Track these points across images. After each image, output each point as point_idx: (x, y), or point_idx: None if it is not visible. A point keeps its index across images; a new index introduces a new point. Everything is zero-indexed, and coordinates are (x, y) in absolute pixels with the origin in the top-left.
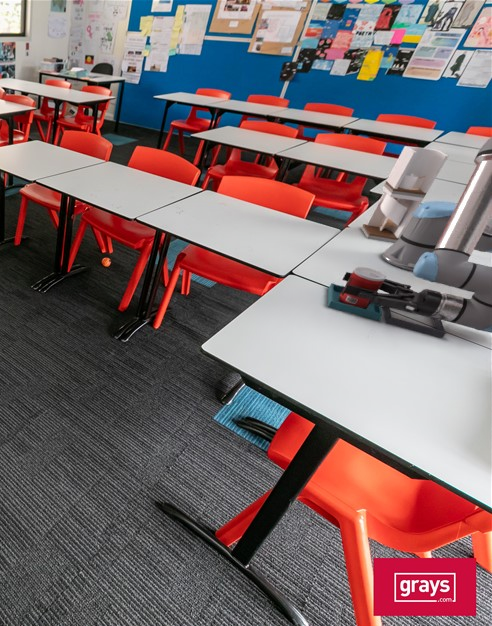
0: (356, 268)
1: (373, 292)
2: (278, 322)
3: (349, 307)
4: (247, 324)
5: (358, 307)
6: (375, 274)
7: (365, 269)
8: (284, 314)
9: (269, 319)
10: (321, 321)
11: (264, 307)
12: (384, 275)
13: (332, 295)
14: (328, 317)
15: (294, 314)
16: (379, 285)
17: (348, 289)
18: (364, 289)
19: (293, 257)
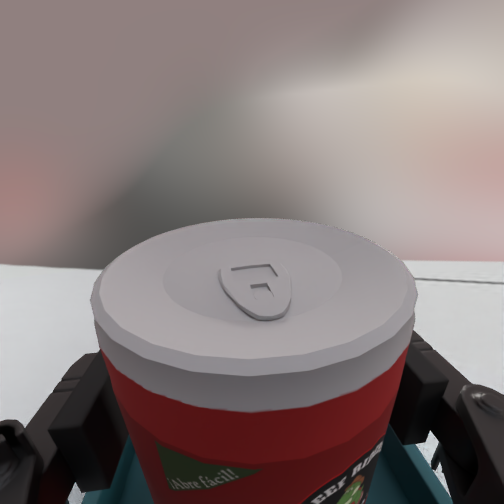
0: (268, 219)
1: (149, 482)
2: (12, 298)
3: None
4: (8, 272)
5: (100, 491)
6: (282, 285)
7: (328, 242)
8: (61, 300)
9: (30, 287)
10: (8, 373)
11: (94, 275)
12: (332, 346)
13: None
14: (46, 389)
15: (63, 313)
16: (144, 439)
17: None
18: (95, 357)
19: (451, 267)
